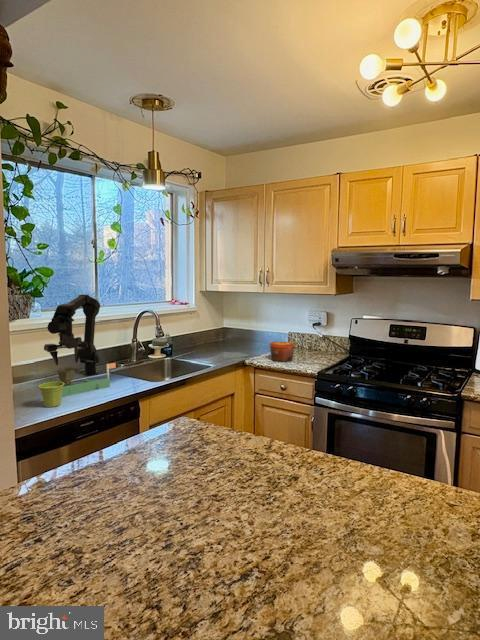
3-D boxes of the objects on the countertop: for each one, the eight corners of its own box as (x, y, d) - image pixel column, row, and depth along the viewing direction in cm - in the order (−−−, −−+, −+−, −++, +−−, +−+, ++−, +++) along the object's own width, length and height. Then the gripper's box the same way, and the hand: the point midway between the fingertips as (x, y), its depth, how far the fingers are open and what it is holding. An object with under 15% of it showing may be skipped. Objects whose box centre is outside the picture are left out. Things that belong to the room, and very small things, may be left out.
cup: (55, 385, 199) (54, 369, 198) (67, 382, 205) (67, 366, 204) (65, 387, 195) (65, 371, 194) (78, 384, 202) (77, 367, 201)
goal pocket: (43, 392, 187) (41, 368, 186) (104, 380, 208) (103, 359, 207) (53, 398, 179) (52, 373, 177) (116, 385, 199) (115, 362, 198)
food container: (280, 356, 270) (280, 340, 269) (300, 360, 259) (300, 343, 257) (263, 360, 259) (264, 343, 258) (283, 364, 248) (284, 346, 246)
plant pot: (60, 408, 165) (59, 387, 164) (36, 409, 164) (35, 388, 163) (68, 401, 174) (67, 381, 173) (45, 402, 174) (44, 381, 173)
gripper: (52, 334, 185) (53, 368, 187) (92, 331, 199) (93, 363, 200) (43, 332, 193) (44, 365, 194) (81, 329, 207) (82, 360, 208)
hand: (66, 363), depth 199 cm, fingers open, 9 cm apart
